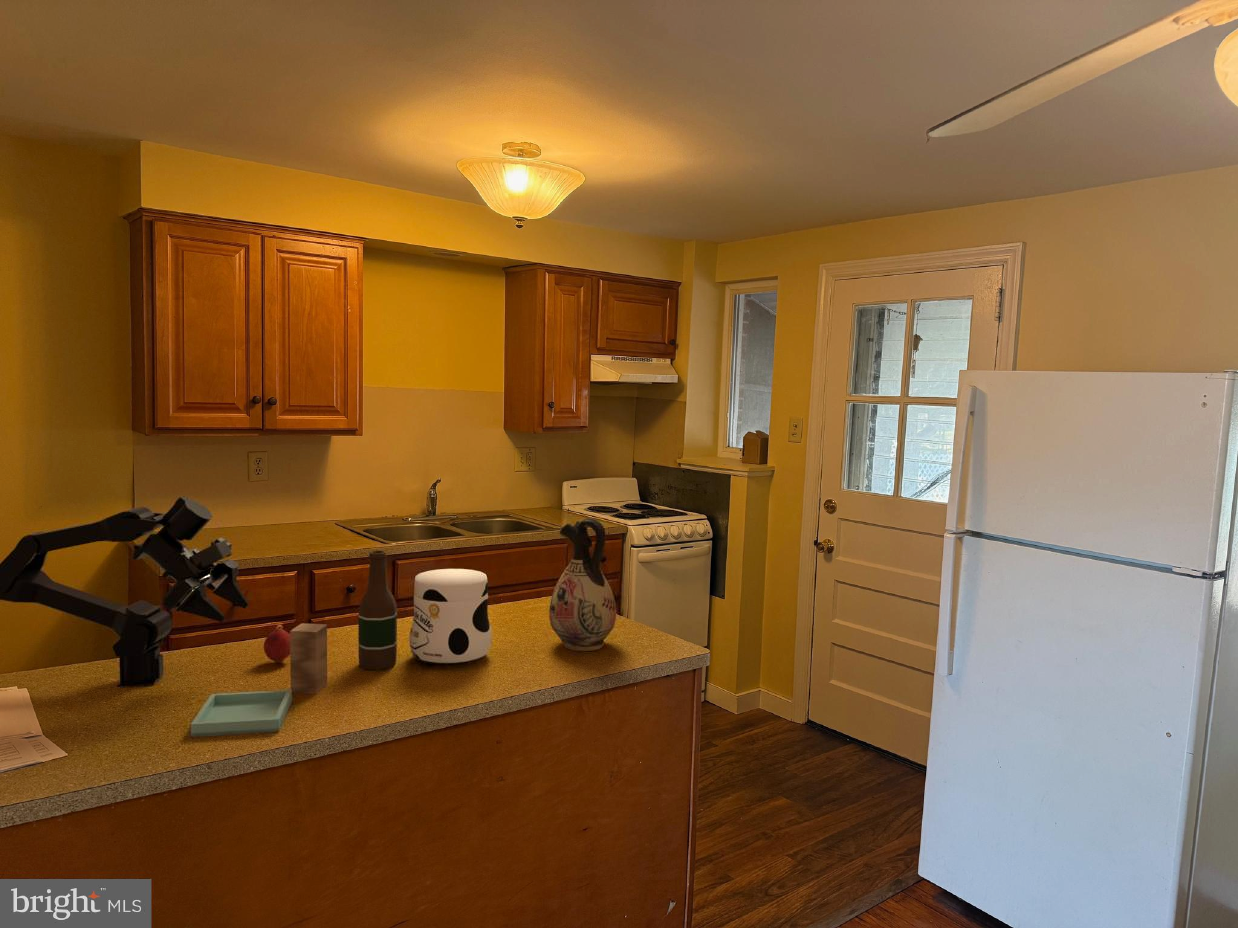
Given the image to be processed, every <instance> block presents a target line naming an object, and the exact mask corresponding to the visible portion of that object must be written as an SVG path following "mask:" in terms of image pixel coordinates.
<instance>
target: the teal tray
mask: <svg viewBox="0 0 1238 928" xmlns="http://www.w3.org/2000/svg"><path fill="white" fill-rule="evenodd" d="M292 702H293V693H292V690H291V689H282V690H281V689H280V690H279V689H278V690H265V691H264V690H263V691H245V692H243V691H242V692H227V693H226V692H222V693H211V694H210V696H209V697H208V698H207V700H206V702H204V704H203V706H202V707H201V709H200V710H199V711H198V713H197V715H195V718H194V719H193V721H192V722H191V724H190V737H191V738H198V737H199V738H200V737H203V738H204V737H217V736H219V737H220V736H231V735H249V734H264V733H279V732H280V731H281V728H282V726H283V724H284V722H285V719H286V717H287V714H288V712H289V710H290V706H291V705H292Z"/></svg>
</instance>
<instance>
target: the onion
mask: <svg viewBox="0 0 1238 928" xmlns="http://www.w3.org/2000/svg"><path fill="white" fill-rule="evenodd" d="M283 628H284V627H283V625H282V624H279V625H277V626H276V628H275V629H274V630H272V631H271V632H270V633H269V634H268V635H267V637H266V638H265V640H264V642H263V651H264V654H265V656H266V657H267V658H268V659H270V660H271V661H272V662H274V663H277V664H281V663H283V662H285V660H286V659H287V658H289V657H290V632H288V631H287V630H285V629H283Z"/></svg>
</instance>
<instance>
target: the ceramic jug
mask: <svg viewBox="0 0 1238 928" xmlns="http://www.w3.org/2000/svg"><path fill="white" fill-rule="evenodd" d="M589 528H590V529H592V530H593V531H594V533H595V534H594V535H595V543H594V547H593V553H592V555H591V551H590V548H592V546H593V541H592V539H591V536H590V535H589V532H588V529H589ZM558 533H559V535H560V536H562V537H563V538H565V539H568V541H570V542H572V543H573V545H574V554H573V557H571V560H570V561H569V563H568V564H567V566H566V567H565V569H564V571H563V573H562V574H561V576H560V577H559V579H558V581H557V583H556V585H555V587H554V588H553V592H552V595H551V598H550V603H549V604H550V605H549V610H548V613H549V614H548V619H549V623H550V627H551V629H552V630H553V631H554V633H555V634H556V635H557V637H558V638H559V639H560V641H561V642H562V644H563V647H564V648H565V649H568V650H570V651H579V652H589V651H598V650H600V649H601V648H603V647H604V645H605V642H604V641H605V640H606V638H607V637H608V636H609V635H610V634H611V632H612V631H613V629H614V627H615V625H616V621H617V619H616V618H617V604H616V599H615V597H614V594H613V590H612V588H611V586H610V584H609V582H608V580H607V579H606V577H605V575H604V573H603V572H602V570H601V568H600V566H601V561H602V557H603V552H604V548H605V545H606V530H605V528H604V526H603V524H602V523H601V522H600V521H598V519H596V518H585V519H583V520H581V521H578V520H577V521H576V522H575V524H574V525H571V524H570V523H567V524H565V525H563V526H562V528H561V529H560V531H559V532H558Z"/></svg>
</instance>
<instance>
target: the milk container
mask: <svg viewBox="0 0 1238 928" xmlns="http://www.w3.org/2000/svg"><path fill="white" fill-rule="evenodd" d="M413 585H414V586H413V587H414V588H413V589H414V591H413V592H414V595H413V620H412V623H411V627H410V631H409V640H408V641H409V648H410V652H411V654H412V656H413V658H415V659H416V660H418V661H419V662H421V663H425V664H427V665H430V666H431V665H433V666H439V667H440V666H442V667H444V666H445V667H446V666H449V667H450V666H451V667H453V666H454V667H455V666H463V665H467V664H471V663H475V662H478V661H480V660H481V659H483V658H484V657H486V656H487V655H488V653H489V651H490V649H491V646H492V638H493V637H492V636H493V634H492V627H491V624H490V619H489V614H488V610H489V609H488V606H489V594H488V593H489V582H488V577H487V574H486V573H484V572H482V571H480V570H475V569H465V568H442V569H431V570H427V571H424V572H420V573H418V574H417V575H415V578H414V584H413Z"/></svg>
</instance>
